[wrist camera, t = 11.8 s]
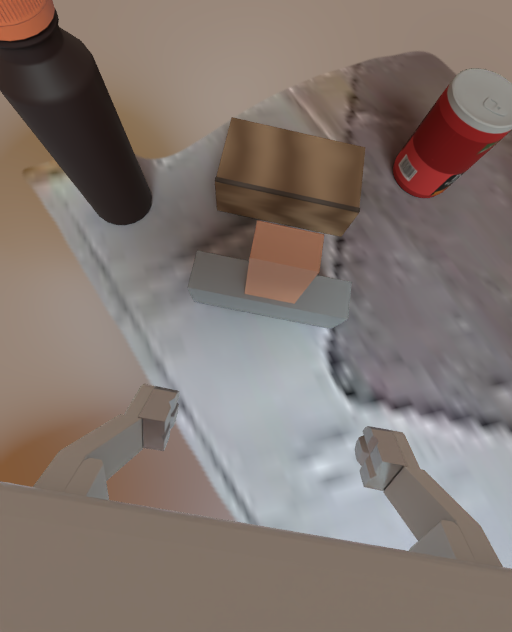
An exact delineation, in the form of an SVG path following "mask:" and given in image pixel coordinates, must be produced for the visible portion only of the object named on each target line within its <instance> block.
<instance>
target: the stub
mask: <svg viewBox="0 0 512 632" xmlns="http://www.w3.org/2000/svg"><path fill="white" fill-rule="evenodd" d="M323 241H324V234H319V233H315V232H310V231H305V230H301V229H296V228H291V227H286V226H282V225H277V224H272V223H268V222H263V221H258V220H257V224H256V229H255V234H254V239H253V243H252V248H251V253H250V258H249V261H247V260H242V259H237V258H232V257H227V256H222V255H218V254H213V253H208V252H203V251H198V250H197V253H196V257H195V260H194V264H193V268H192V272H191V276H190V280H189V283H188V289H189V292H190V294H191V296H192V298H193V300H194V302H199V303H204V304H209V305H214V306H219V307H224V308H229V309H234V310H239V311H244V312H249V313H254V314H259V315H264V316H269V317H274V318H279V319H284V320H289V321H294V322H299V323H304V324H309V325H314V326H319V327H324V328H329V329H332V328H333V327H335V326H337V325H339V324H341V323H343V322H344V321H346V320H348V314H349V304H350V294H351V284H352V282H348V281H343V280H339V279H334V278H329V277H324V276H319V275H317V274H318V273H319V271H320V263H321V256H322V248H323Z"/></svg>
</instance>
